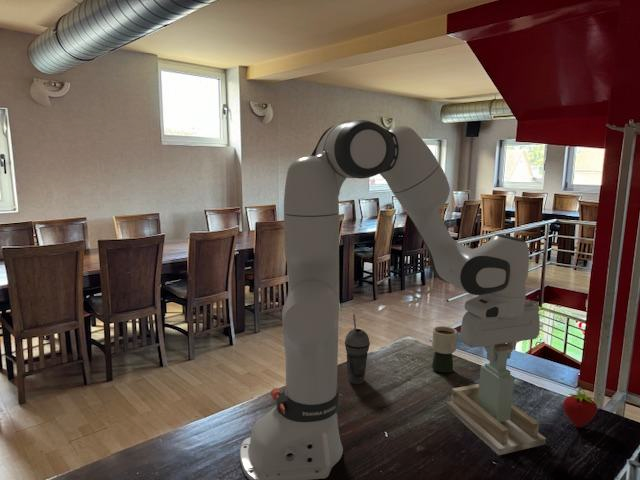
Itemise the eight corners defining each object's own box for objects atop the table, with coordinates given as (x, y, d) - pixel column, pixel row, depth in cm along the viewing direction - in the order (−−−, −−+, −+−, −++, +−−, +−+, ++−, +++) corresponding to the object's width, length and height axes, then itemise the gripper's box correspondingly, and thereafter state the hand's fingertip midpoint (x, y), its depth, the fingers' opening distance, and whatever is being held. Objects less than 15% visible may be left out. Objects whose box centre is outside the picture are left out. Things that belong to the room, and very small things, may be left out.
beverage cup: (367, 387, 124) (369, 320, 121) (341, 384, 126) (343, 318, 122) (369, 375, 132) (372, 311, 128) (345, 372, 133) (347, 309, 129)
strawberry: (555, 419, 111) (560, 382, 109) (586, 420, 111) (591, 383, 109) (568, 433, 105) (573, 395, 103) (600, 434, 105) (605, 396, 103)
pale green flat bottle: (477, 406, 110) (483, 339, 107) (490, 404, 111) (496, 337, 108) (496, 422, 104) (503, 351, 100) (510, 419, 105) (517, 349, 102)
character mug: (461, 377, 131) (465, 336, 129) (439, 379, 130) (442, 338, 127) (444, 361, 142) (447, 323, 139) (424, 363, 140) (426, 324, 138)
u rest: (498, 455, 97) (500, 434, 96) (445, 407, 115) (447, 389, 114) (545, 444, 101) (547, 424, 100) (486, 399, 119) (488, 382, 119)
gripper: (529, 296, 109) (523, 348, 111) (458, 303, 102) (454, 358, 105) (549, 304, 103) (543, 359, 105) (476, 312, 96) (471, 370, 99)
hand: (498, 359), depth 105 cm, fingers closed on pale green flat bottle, 3 cm apart
